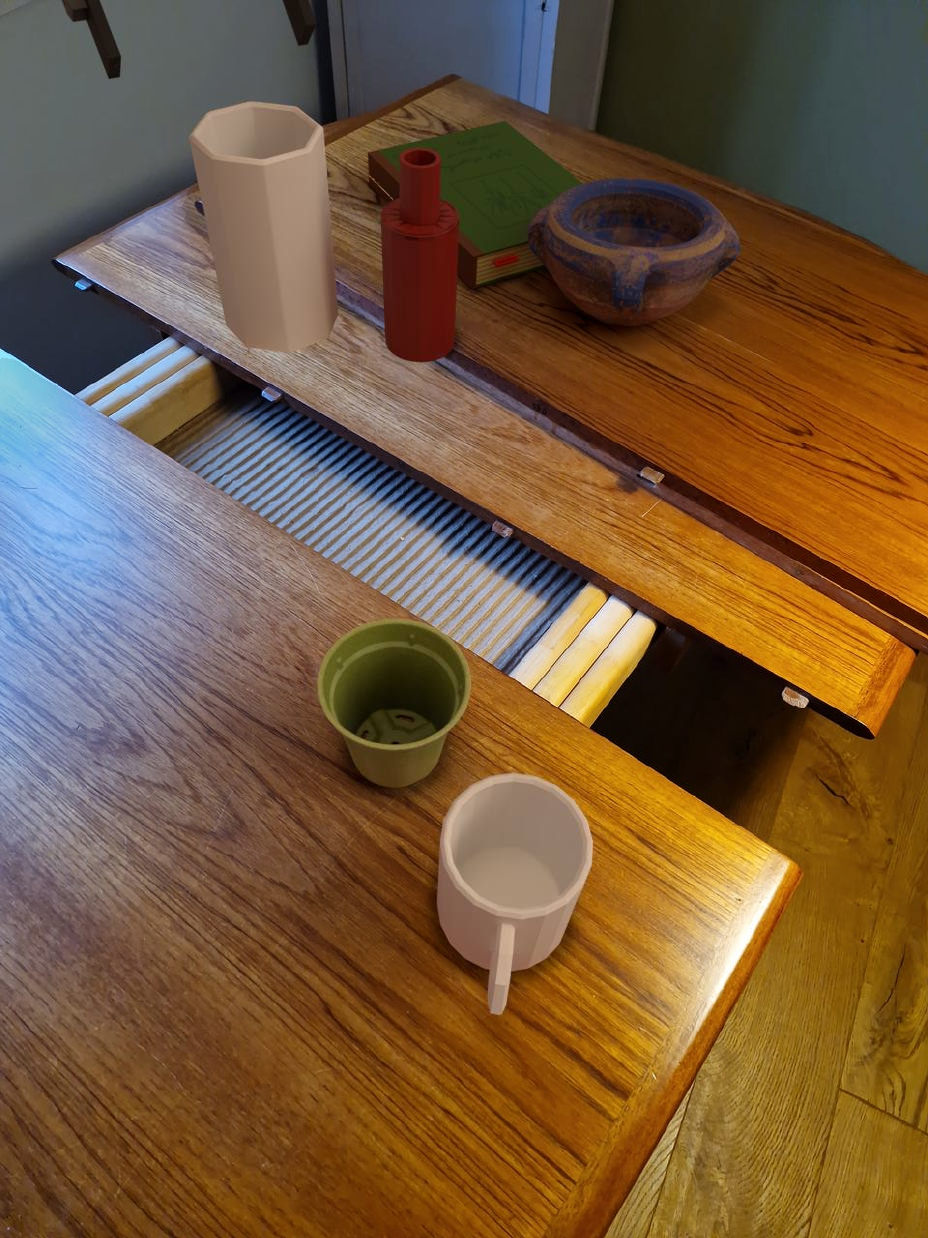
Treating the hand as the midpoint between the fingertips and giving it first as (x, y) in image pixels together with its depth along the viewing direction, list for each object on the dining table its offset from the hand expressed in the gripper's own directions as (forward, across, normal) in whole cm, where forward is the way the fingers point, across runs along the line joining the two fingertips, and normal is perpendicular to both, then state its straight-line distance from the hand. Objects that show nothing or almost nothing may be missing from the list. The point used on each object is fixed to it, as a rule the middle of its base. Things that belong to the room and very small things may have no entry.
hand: (214, 51), depth 61 cm
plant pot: (+48, +7, +7) cm, 49 cm away
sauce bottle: (+20, -16, -20) cm, 33 cm away
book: (+8, -35, -32) cm, 48 cm away
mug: (+58, +7, +17) cm, 61 cm away
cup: (+14, -5, -27) cm, 31 cm away
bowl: (+22, -38, -18) cm, 48 cm away
